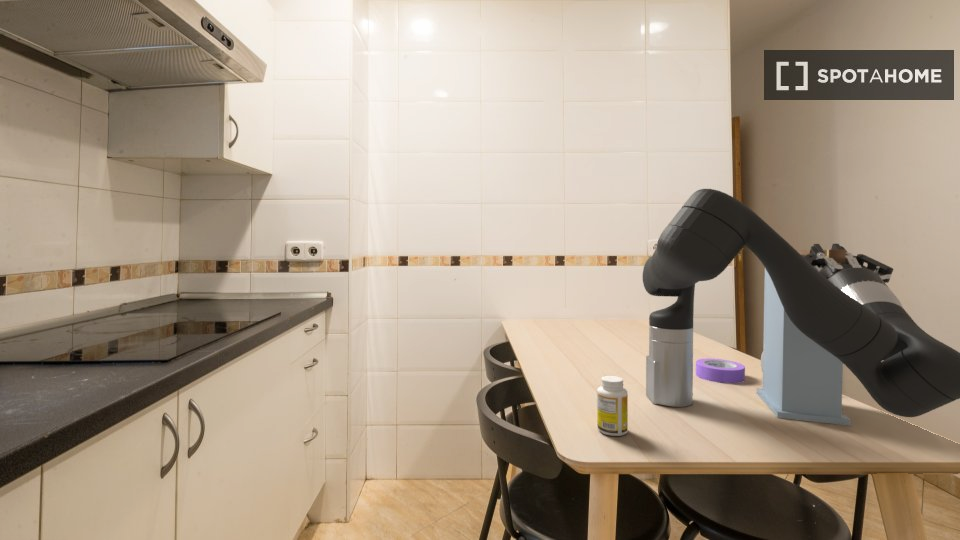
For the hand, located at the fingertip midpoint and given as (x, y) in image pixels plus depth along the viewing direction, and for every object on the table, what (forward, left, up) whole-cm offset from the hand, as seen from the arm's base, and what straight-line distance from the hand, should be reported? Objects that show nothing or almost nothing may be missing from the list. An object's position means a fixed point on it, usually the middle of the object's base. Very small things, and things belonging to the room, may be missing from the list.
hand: (824, 248), depth 80 cm
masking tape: (-3, +34, -35) cm, 49 cm away
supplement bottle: (-40, -4, -35) cm, 53 cm away
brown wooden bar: (+2, +6, -3) cm, 7 cm away
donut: (+8, +28, -35) cm, 46 cm away
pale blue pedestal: (+3, +11, -35) cm, 37 cm away
